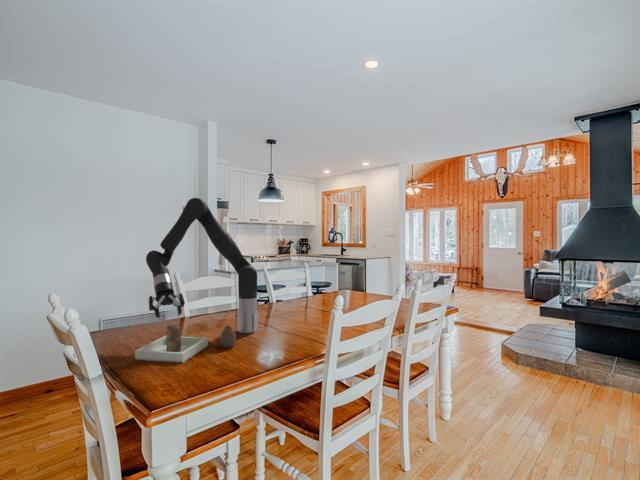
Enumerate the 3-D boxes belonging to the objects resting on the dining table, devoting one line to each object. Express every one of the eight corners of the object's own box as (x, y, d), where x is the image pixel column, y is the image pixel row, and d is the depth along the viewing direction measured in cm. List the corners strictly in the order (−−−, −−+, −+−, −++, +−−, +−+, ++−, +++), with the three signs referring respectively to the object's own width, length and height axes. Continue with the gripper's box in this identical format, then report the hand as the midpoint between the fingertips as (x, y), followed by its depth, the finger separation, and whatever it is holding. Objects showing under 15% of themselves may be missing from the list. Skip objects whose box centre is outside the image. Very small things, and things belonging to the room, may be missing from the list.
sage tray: (207, 345, 147) (207, 337, 146) (182, 362, 127) (182, 353, 127) (165, 343, 149) (165, 335, 149) (135, 359, 130) (135, 350, 130)
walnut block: (178, 348, 141) (178, 324, 141) (180, 351, 138) (181, 326, 138) (166, 350, 139) (166, 325, 139) (168, 353, 135) (169, 328, 135)
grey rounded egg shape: (239, 344, 148) (239, 325, 148) (230, 349, 142) (230, 329, 142) (226, 343, 151) (226, 323, 151) (216, 347, 144) (216, 327, 144)
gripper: (147, 282, 147) (152, 312, 138) (181, 279, 155) (188, 308, 146) (145, 292, 151) (150, 323, 142) (178, 289, 160) (184, 318, 151)
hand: (169, 315), depth 144 cm, fingers open, 8 cm apart
